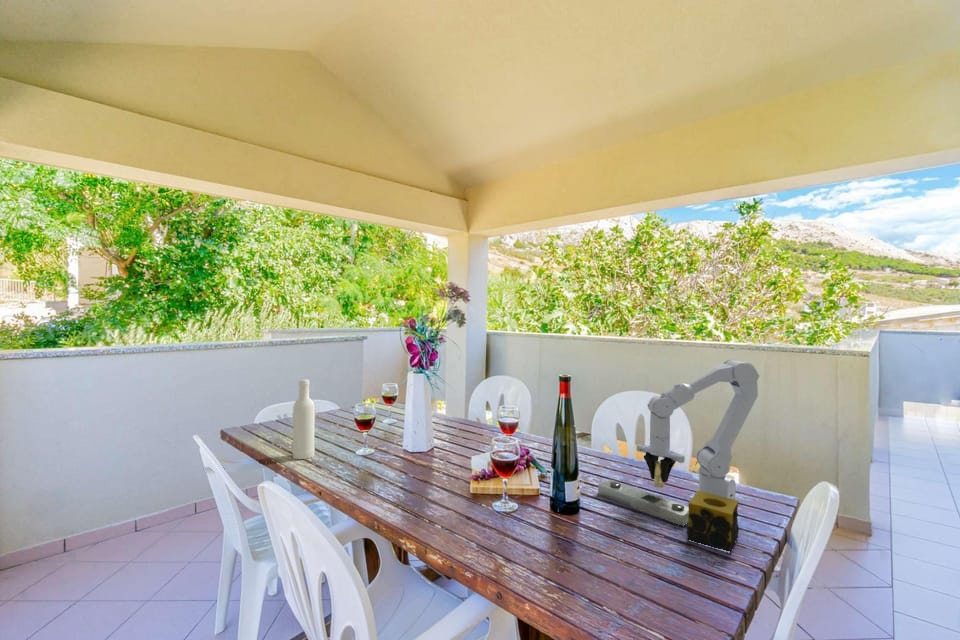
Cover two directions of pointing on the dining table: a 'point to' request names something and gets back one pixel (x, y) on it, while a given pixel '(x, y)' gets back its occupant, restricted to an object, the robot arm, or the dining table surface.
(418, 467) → the dining table surface
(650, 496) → the bolted metal base plate
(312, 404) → the bottle
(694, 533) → the yellow block with hole
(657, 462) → the pin
